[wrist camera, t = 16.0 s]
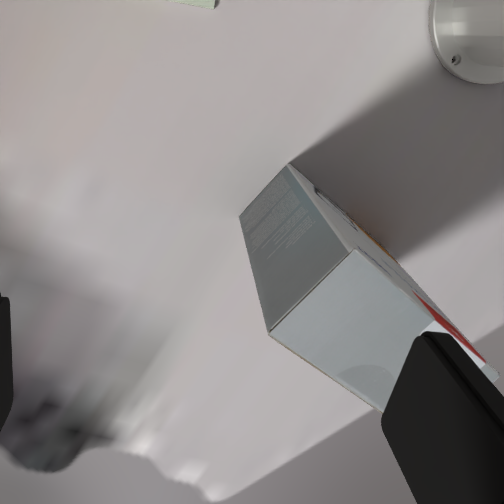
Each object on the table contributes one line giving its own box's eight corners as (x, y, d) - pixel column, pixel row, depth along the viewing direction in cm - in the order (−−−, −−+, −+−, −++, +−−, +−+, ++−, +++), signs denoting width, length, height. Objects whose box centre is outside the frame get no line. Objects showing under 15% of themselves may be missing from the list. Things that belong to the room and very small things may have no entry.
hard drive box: (389, 250, 48) (505, 379, 30) (338, 298, 50) (420, 445, 32) (287, 158, 42) (357, 250, 25) (234, 217, 44) (263, 341, 26)
